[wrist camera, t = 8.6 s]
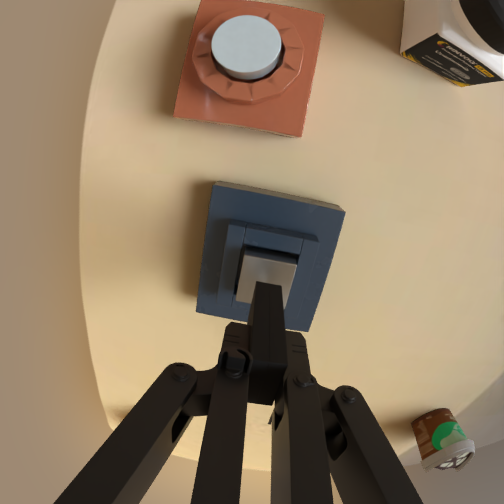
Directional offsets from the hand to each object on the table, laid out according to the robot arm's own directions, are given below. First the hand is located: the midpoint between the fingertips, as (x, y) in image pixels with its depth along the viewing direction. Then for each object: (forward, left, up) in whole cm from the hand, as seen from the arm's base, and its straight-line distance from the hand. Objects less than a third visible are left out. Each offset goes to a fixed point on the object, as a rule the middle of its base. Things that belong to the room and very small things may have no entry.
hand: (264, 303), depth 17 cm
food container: (+2, +40, -9) cm, 41 cm away
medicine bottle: (-26, -2, -9) cm, 27 cm away
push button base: (0, 0, -8) cm, 8 cm away
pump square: (0, 0, -5) cm, 5 cm away
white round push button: (-11, -11, -4) cm, 16 cm away
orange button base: (-11, -11, -8) cm, 17 cm away
